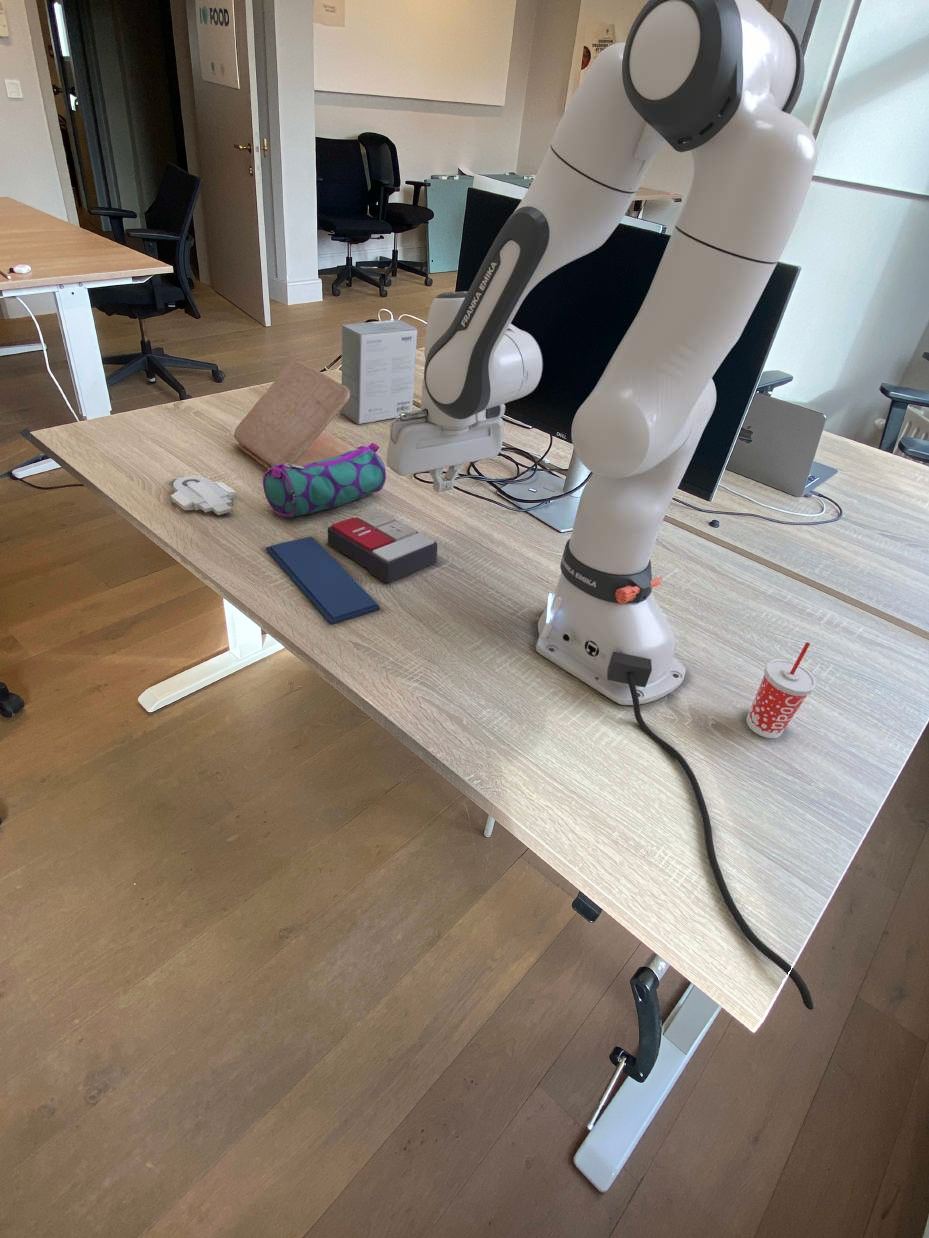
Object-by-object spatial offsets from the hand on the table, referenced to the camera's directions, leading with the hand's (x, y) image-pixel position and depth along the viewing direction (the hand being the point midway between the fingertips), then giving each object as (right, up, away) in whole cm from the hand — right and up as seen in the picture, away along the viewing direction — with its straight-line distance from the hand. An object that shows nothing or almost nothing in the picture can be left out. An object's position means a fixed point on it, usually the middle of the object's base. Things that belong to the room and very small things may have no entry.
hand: (442, 489), depth 113 cm
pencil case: (-21, 0, +12) cm, 25 cm away
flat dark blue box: (-19, -15, -7) cm, 25 cm away
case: (-29, +12, +27) cm, 41 cm away
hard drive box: (-17, +27, +50) cm, 59 cm away
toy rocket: (-43, 0, +8) cm, 43 cm away
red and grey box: (-10, -10, +1) cm, 15 cm away
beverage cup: (+43, -35, -21) cm, 60 cm away
